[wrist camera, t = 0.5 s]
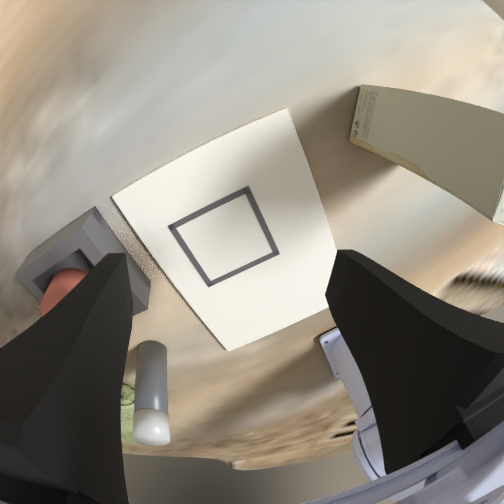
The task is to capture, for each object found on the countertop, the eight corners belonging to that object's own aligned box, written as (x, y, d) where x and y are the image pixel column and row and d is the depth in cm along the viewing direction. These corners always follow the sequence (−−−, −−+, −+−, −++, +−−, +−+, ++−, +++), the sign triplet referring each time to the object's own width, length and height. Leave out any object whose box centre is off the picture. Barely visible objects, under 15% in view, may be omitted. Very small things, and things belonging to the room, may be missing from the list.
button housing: (150, 281, 22) (147, 308, 19) (85, 314, 22) (77, 341, 19) (95, 206, 18) (82, 227, 15) (31, 252, 18) (15, 275, 16)
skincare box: (346, 141, 19) (485, 225, 9) (359, 80, 16) (519, 115, 6) (412, 159, 20) (536, 237, 10) (426, 107, 18) (562, 160, 8)
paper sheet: (347, 294, 26) (349, 297, 26) (227, 349, 27) (228, 352, 27) (285, 107, 17) (287, 108, 16) (112, 194, 18) (111, 197, 17)
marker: (173, 353, 26) (177, 442, 19) (149, 362, 26) (148, 448, 19) (155, 336, 25) (154, 429, 17) (131, 346, 25) (125, 435, 17)
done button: (117, 302, 18) (111, 328, 16) (77, 322, 19) (70, 347, 17) (79, 257, 16) (67, 281, 14) (40, 283, 16) (28, 306, 14)
